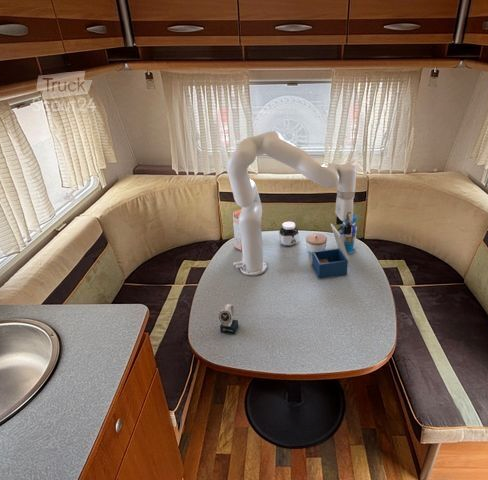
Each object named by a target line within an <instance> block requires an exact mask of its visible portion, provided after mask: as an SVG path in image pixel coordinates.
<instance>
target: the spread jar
mask: <svg viewBox="0 0 488 480" xmlns="http://www.w3.org/2000/svg"><path fill="white" fill-rule="evenodd" d="M281 226H282V227H281V228H279V231H278V238H279V242H280V244H281V245H283V246H284V247H287V248H289V247H294V246H295V245H298V242H299V239H300V237H299V230H298V228H297V227H296V223H295V222H293V221H284V222H283V223H282V224H281Z"/></svg>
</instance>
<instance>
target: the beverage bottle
mask: <svg viewBox="0 0 488 480" xmlns="http://www.w3.org/2000/svg"><path fill="white" fill-rule="evenodd" d="M357 218H358V217H357V215H356V214H355V213H353V224H352V228H351V234H342V235H341V237H342V240H343V243H344V246H345V249H346V252H347V255H351V254H353V253H354V252H355V251H356V241H357V235H358V231H357V230H358V226H357V224H356V223H357ZM346 219H349V218H346ZM348 222H349V221H347V223H348ZM340 226H343V227H344V226H345V222H344V221H343V224H340ZM341 232H343V231H342V230H339V233H341Z"/></svg>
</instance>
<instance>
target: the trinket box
mask: <svg viewBox="0 0 488 480" xmlns="http://www.w3.org/2000/svg"><path fill="white" fill-rule="evenodd" d="M327 242H328V237H327V236H326V235H325V234H322V233H315V232H314V233H310V234H308V235H306V237H305V246H306V249H307V250H308V252H310V254H312V252H315V251H322V250H326V248H327V247H326V246H327Z"/></svg>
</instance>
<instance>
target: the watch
mask: <svg viewBox="0 0 488 480" xmlns="http://www.w3.org/2000/svg"><path fill="white" fill-rule="evenodd" d="M234 318H235V306H234V304H231V303H226V304H225V305H224V306H223V307H222V309H221V311H220V312H219V314H218V320H219V322H220V326H219V327H220V333H223V334H230V335H236V333H237V330H238V328H239V320H238V319H234Z"/></svg>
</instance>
